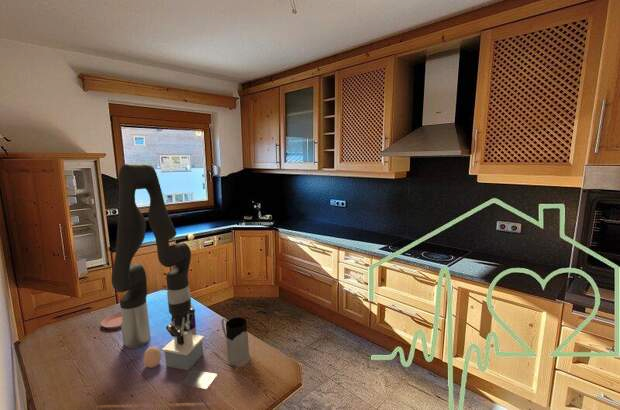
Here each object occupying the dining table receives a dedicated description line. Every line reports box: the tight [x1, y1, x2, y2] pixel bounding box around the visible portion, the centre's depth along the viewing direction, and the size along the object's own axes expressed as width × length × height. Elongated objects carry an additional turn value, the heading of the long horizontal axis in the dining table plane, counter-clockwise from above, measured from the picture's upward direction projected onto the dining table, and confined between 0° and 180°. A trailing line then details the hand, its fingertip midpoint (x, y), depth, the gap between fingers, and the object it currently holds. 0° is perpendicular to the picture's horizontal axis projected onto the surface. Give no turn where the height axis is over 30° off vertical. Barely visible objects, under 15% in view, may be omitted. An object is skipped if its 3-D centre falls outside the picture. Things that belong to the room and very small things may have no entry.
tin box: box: [164, 340, 204, 371], centre depth 114 cm, size 9×9×7 cm
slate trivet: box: [179, 369, 219, 390], centre depth 105 cm, size 10×7×1 cm
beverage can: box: [189, 305, 198, 335], centre depth 125 cm, size 6×6×15 cm
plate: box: [100, 311, 122, 330], centre depth 143 cm, size 14×14×2 cm
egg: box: [142, 346, 162, 369], centre depth 112 cm, size 6×6×8 cm
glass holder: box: [221, 316, 251, 368], centre depth 116 cm, size 9×14×15 cm, turn 48°
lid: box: [161, 330, 205, 355], centre depth 113 cm, size 10×10×5 cm
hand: (183, 341), depth 113 cm, fingers closed on lid, 2 cm apart
